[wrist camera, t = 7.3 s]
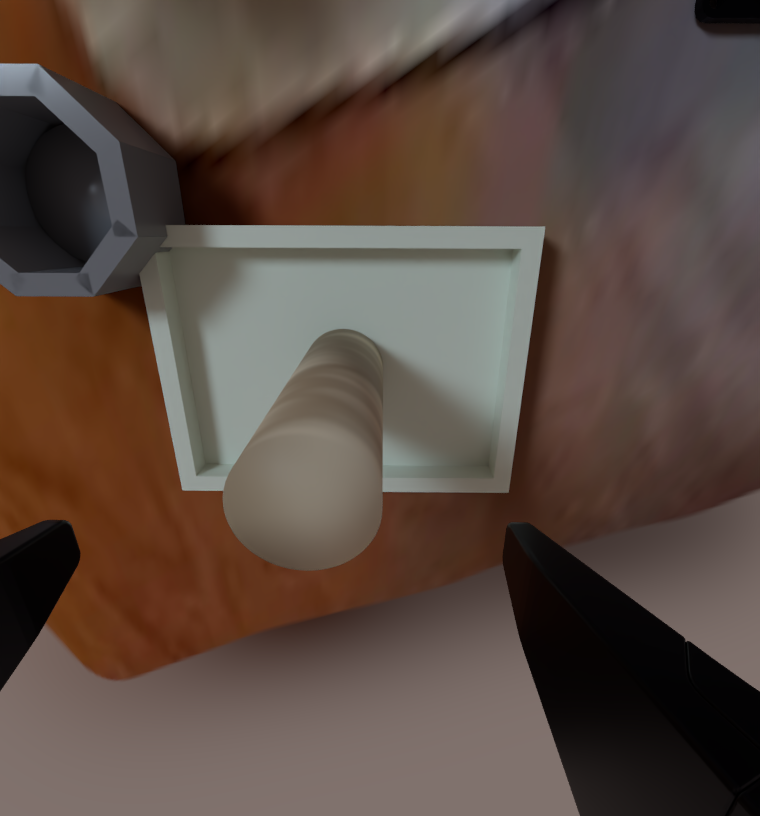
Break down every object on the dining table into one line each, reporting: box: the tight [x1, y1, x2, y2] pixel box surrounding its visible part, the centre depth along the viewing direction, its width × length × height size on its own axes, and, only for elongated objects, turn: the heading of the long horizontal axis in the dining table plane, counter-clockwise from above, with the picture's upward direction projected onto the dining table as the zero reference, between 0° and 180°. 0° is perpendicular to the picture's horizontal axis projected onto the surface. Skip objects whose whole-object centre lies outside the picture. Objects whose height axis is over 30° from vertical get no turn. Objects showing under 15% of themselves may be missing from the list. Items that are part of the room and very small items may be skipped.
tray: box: [139, 225, 545, 493], centre depth 20 cm, size 16×12×2 cm
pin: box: [223, 329, 383, 571], centre depth 15 cm, size 4×4×11 cm
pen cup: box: [0, 64, 186, 296], centre depth 16 cm, size 7×7×4 cm
